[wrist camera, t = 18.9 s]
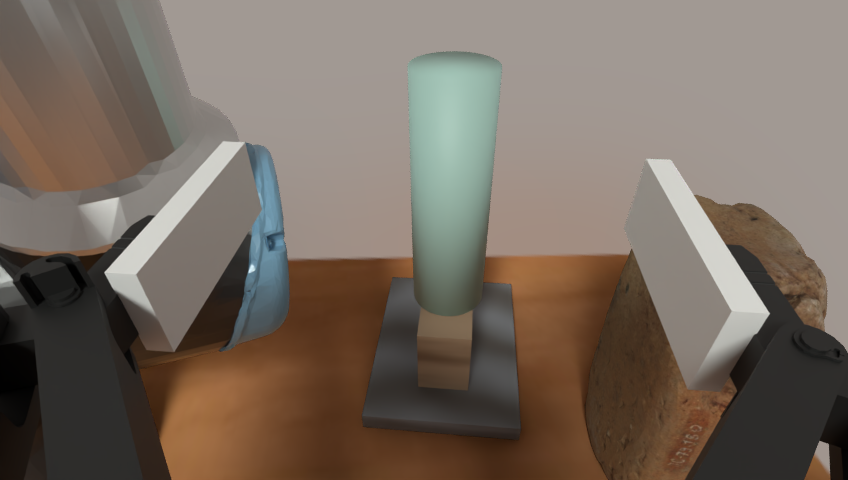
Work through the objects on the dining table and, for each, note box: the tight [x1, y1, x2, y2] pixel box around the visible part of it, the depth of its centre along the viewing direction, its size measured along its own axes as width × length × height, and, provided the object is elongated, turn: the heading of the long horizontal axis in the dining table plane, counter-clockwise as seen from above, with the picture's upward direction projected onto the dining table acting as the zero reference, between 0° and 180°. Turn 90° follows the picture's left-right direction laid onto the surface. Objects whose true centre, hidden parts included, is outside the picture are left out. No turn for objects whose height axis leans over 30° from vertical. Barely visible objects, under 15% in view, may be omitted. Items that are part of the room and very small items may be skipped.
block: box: [585, 195, 827, 480], centre depth 30 cm, size 11×8×20 cm
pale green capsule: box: [408, 52, 502, 316], centre depth 34 cm, size 6×6×18 cm
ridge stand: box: [362, 277, 521, 440], centre depth 41 cm, size 16×12×8 cm
